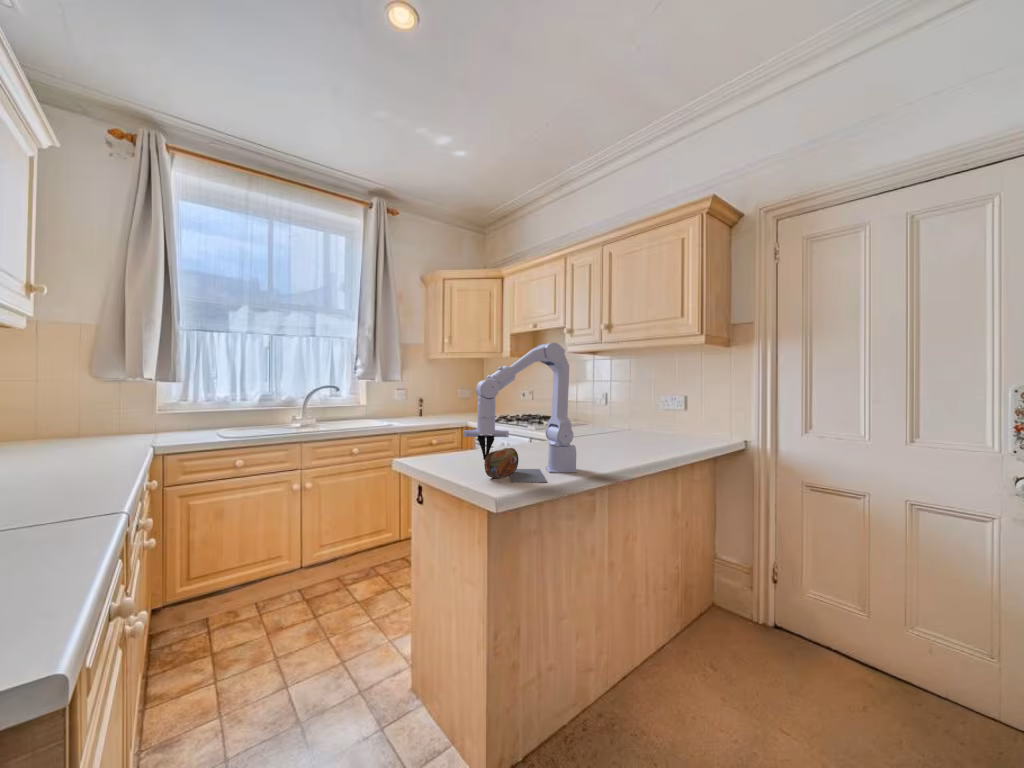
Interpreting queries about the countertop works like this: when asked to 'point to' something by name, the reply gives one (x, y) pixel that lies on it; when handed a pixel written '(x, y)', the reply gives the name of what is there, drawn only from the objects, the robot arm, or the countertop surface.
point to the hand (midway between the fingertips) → (485, 459)
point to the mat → (528, 476)
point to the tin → (501, 462)
